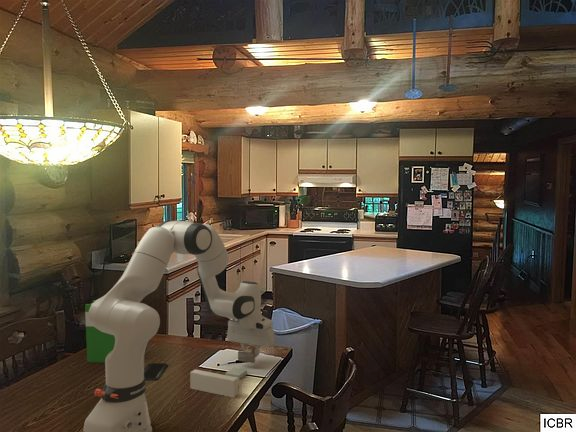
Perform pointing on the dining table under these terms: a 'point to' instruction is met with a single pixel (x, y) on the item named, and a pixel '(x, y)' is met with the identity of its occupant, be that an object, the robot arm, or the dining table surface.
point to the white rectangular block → (214, 383)
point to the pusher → (247, 355)
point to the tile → (236, 372)
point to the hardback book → (97, 341)
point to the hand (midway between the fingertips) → (250, 354)
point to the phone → (154, 371)
